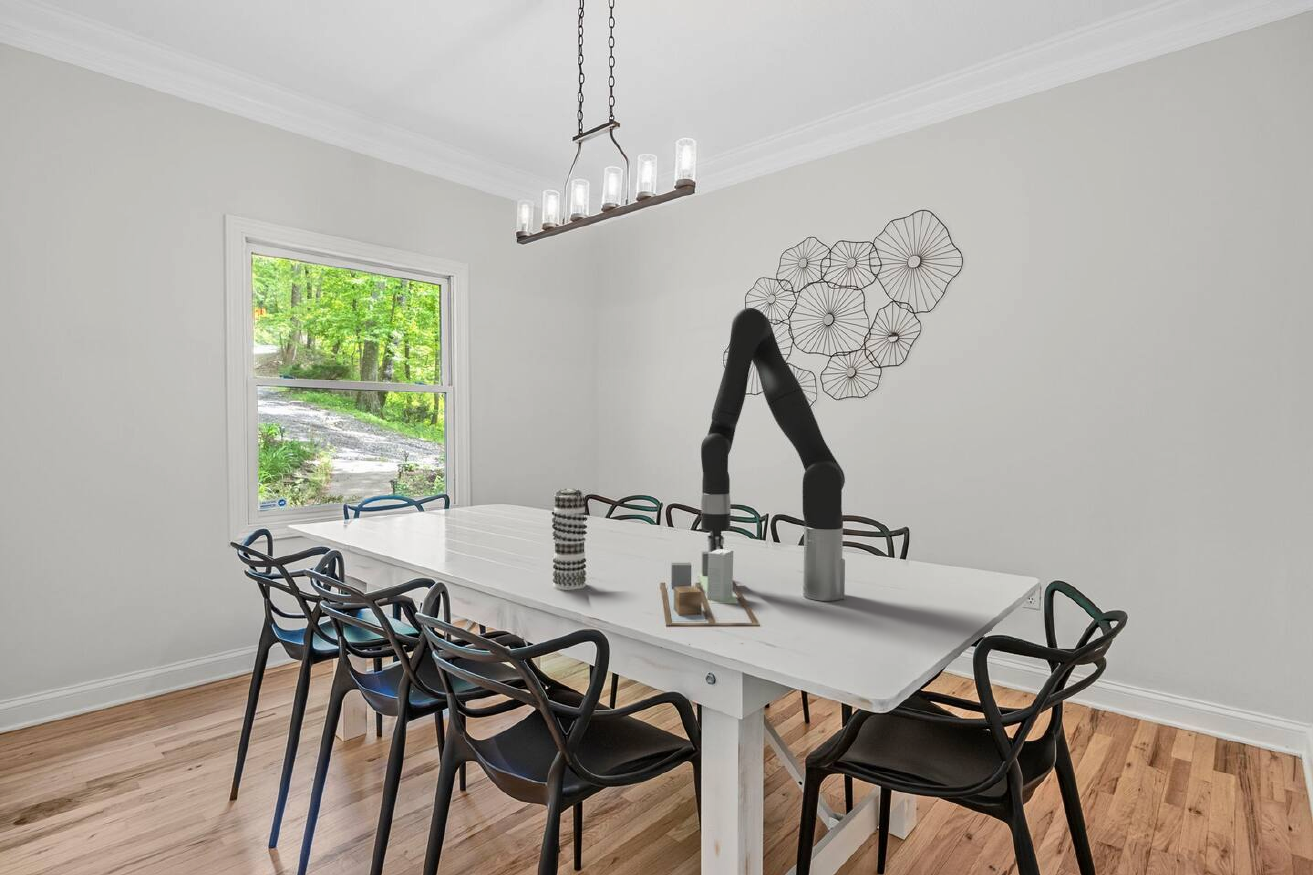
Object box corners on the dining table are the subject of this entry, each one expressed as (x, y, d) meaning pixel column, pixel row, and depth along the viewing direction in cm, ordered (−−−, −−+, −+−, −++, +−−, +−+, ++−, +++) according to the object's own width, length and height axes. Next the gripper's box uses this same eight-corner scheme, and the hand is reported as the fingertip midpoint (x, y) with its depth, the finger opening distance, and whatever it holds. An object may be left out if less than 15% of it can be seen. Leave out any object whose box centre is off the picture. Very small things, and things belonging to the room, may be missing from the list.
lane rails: (735, 588, 174) (735, 582, 174) (759, 631, 139) (759, 624, 139) (660, 588, 174) (660, 582, 174) (666, 632, 139) (666, 624, 139)
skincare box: (716, 598, 164) (716, 548, 164) (733, 600, 162) (734, 549, 162) (706, 603, 159) (706, 552, 159) (724, 606, 157) (724, 553, 157)
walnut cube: (695, 608, 152) (695, 585, 152) (701, 614, 147) (701, 591, 147) (673, 609, 151) (673, 586, 151) (678, 615, 146) (679, 592, 146)
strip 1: (694, 589, 172) (694, 562, 172) (706, 626, 142) (706, 592, 142) (667, 589, 172) (667, 562, 172) (673, 626, 142) (673, 592, 142)
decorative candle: (585, 590, 171) (585, 491, 171) (548, 589, 172) (548, 491, 171) (589, 581, 181) (589, 487, 180) (554, 581, 181) (554, 487, 180)
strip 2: (722, 576, 186) (722, 551, 186) (738, 607, 156) (739, 576, 156) (697, 576, 186) (698, 551, 186) (709, 607, 156) (709, 577, 156)
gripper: (733, 514, 168) (733, 583, 169) (727, 507, 182) (726, 571, 182) (703, 514, 168) (703, 583, 169) (699, 507, 182) (698, 571, 182)
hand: (715, 577), depth 176 cm, fingers closed
